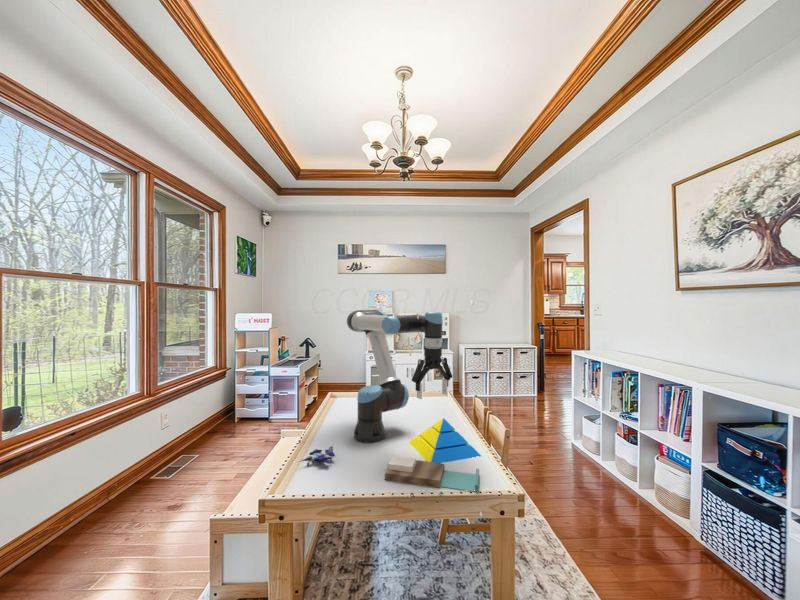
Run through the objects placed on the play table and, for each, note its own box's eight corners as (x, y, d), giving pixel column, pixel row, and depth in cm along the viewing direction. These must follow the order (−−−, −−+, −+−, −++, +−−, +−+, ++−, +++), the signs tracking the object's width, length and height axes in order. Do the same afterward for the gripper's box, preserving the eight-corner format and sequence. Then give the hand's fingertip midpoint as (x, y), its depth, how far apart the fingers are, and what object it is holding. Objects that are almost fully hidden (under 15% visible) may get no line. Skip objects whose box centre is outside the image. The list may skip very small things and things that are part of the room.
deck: (384, 479, 125) (384, 473, 125) (394, 463, 138) (394, 457, 138) (439, 487, 120) (439, 480, 120) (444, 470, 133) (444, 463, 133)
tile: (388, 469, 128) (388, 463, 128) (393, 460, 135) (393, 455, 135) (412, 472, 126) (412, 467, 126) (416, 463, 133) (416, 458, 133)
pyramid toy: (429, 467, 136) (429, 431, 136) (406, 443, 160) (407, 412, 160) (483, 458, 145) (483, 424, 145) (454, 436, 168) (454, 407, 168)
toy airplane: (294, 469, 132) (294, 460, 132) (310, 454, 146) (310, 445, 146) (325, 473, 130) (326, 463, 130) (339, 457, 144) (339, 448, 144)
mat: (439, 487, 121) (439, 479, 121) (444, 470, 132) (444, 464, 132) (477, 492, 117) (477, 485, 117) (478, 475, 129) (479, 468, 129)
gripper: (413, 350, 140) (412, 402, 140) (460, 346, 153) (459, 394, 153) (404, 348, 147) (403, 397, 147) (450, 344, 159) (449, 390, 160)
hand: (432, 396), depth 150 cm, fingers open, 13 cm apart
